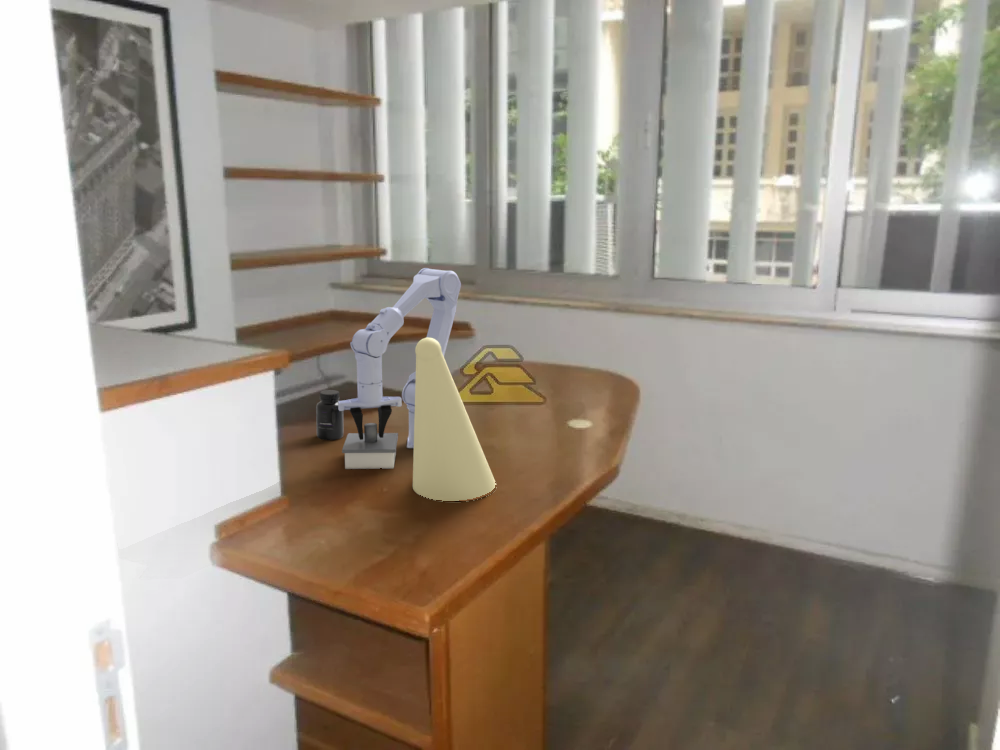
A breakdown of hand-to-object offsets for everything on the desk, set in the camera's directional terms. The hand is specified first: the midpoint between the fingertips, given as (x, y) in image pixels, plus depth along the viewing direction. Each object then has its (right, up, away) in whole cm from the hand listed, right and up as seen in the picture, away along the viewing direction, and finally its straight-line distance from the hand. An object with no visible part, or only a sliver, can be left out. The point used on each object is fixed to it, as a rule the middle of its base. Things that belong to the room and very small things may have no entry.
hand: (370, 437), depth 177 cm
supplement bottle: (-13, -2, +18) cm, 22 cm away
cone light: (+19, -10, -16) cm, 27 cm away
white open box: (0, -6, +1) cm, 6 cm away
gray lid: (0, -2, 0) cm, 2 cm away
